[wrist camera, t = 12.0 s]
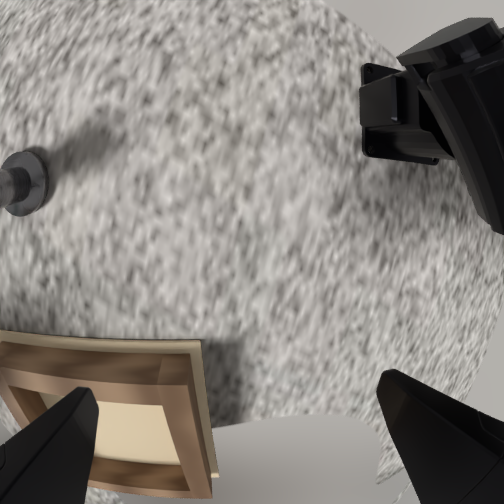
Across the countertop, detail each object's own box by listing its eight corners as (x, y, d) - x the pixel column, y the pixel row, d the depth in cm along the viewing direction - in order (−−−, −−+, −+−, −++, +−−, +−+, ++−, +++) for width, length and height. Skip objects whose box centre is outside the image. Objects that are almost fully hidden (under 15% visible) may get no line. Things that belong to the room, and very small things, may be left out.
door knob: (47, 146, 15) (-8, 148, 10) (51, 211, 17) (-1, 234, 11) (2, 157, 15) (-53, 164, 9) (7, 216, 16) (-45, 239, 11)
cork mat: (200, 339, 21) (200, 342, 21) (219, 475, 27) (219, 477, 27) (-8, 328, 19) (-10, 330, 18) (63, 459, 25) (62, 461, 25)
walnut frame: (190, 353, 21) (187, 385, 18) (211, 473, 26) (212, 498, 23) (1, 340, 19) (-17, 362, 16) (67, 458, 24) (60, 479, 21)
